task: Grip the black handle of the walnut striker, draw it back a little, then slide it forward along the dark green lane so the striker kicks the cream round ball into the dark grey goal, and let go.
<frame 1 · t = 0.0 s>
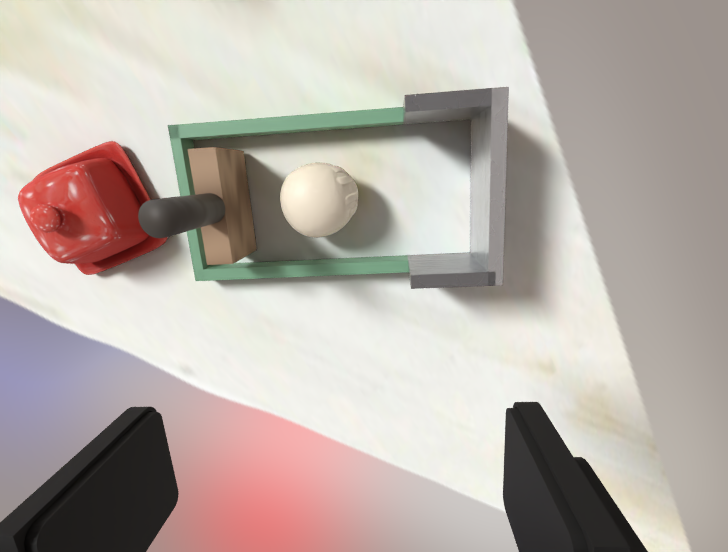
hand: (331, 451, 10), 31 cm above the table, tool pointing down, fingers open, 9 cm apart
striker: (206, 209, 33), point 8 cm above the table, slide at 0.0 cm
goal: (445, 190, 39), on the table
cream round ball: (326, 197, 40), on the table
butter dish: (109, 209, 42), on the table
lane: (297, 199, 40), on the table
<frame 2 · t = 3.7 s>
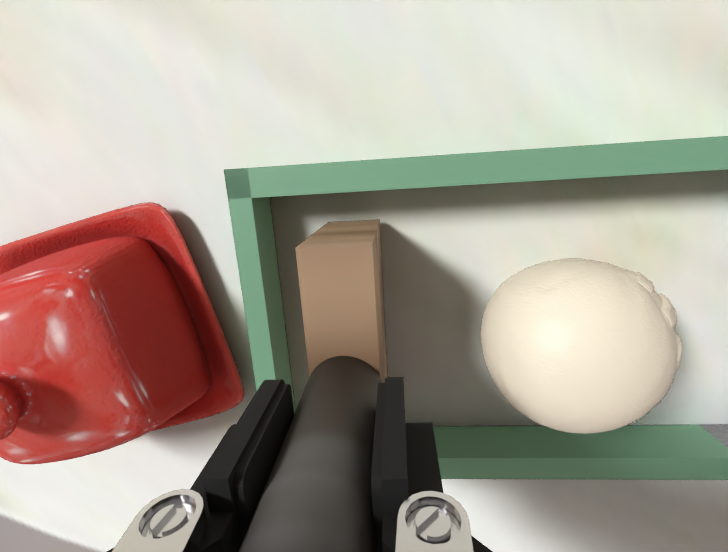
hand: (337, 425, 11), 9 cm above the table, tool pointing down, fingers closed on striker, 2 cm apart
striker: (342, 404, 12), point 8 cm above the table, slide at 0.0 cm, touching gripper
cream round ball: (542, 310, 19), on the table
butter dish: (130, 323, 21), on the table
lane: (481, 314, 19), on the table
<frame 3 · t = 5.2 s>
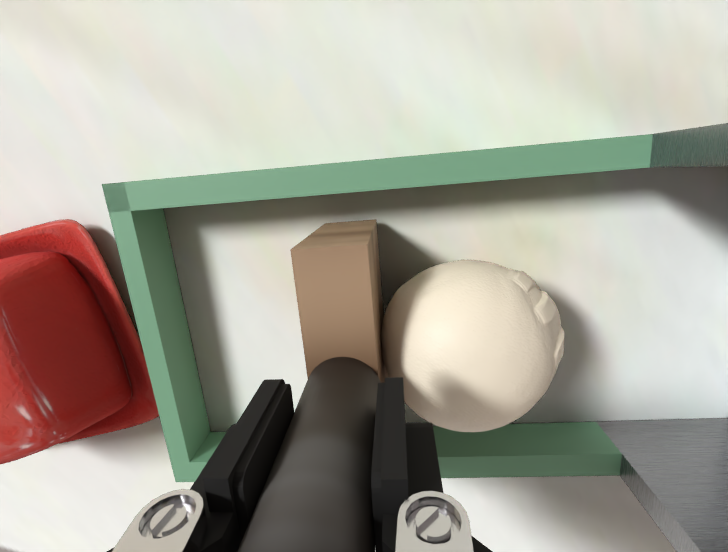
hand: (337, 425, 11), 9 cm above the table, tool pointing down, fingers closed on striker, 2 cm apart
striker: (341, 405, 12), point 8 cm above the table, slide at 5.2 cm, touching cream round ball, gripper
goal: (693, 300, 18), on the table
cream round ball: (455, 310, 20), on the table, touching striker
butter dish: (57, 334, 22), on the table
lane: (376, 317, 20), on the table
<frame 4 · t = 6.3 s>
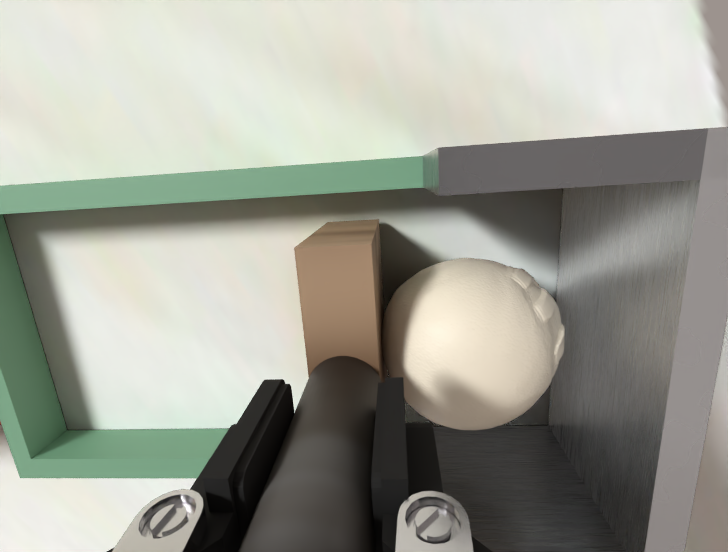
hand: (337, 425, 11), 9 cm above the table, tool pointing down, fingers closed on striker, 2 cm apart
striker: (342, 404, 12), point 8 cm above the table, slide at 13.9 cm, touching cream round ball, gripper
goal: (504, 313, 19), on the table
cream round ball: (456, 309, 20), on the table, touching striker
lane: (212, 323, 20), on the table
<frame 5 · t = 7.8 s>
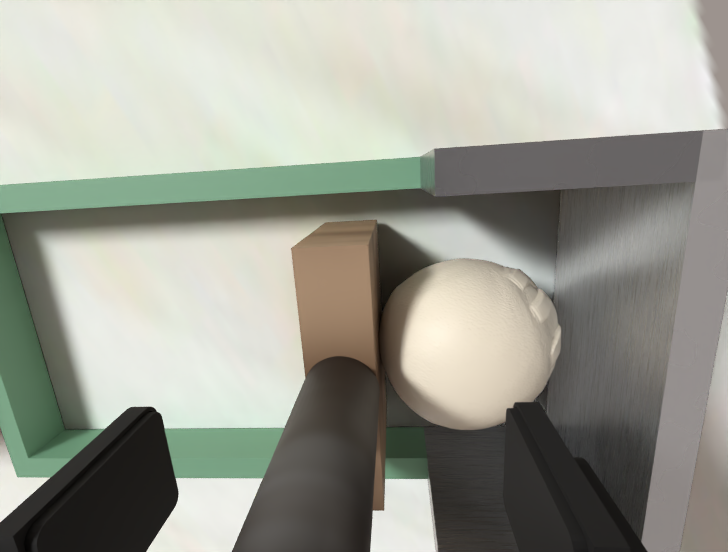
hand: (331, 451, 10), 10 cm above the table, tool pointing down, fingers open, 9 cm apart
striker: (338, 404, 12), point 8 cm above the table, slide at 13.9 cm
goal: (502, 313, 19), on the table
cream round ball: (454, 309, 20), on the table
lane: (210, 323, 20), on the table
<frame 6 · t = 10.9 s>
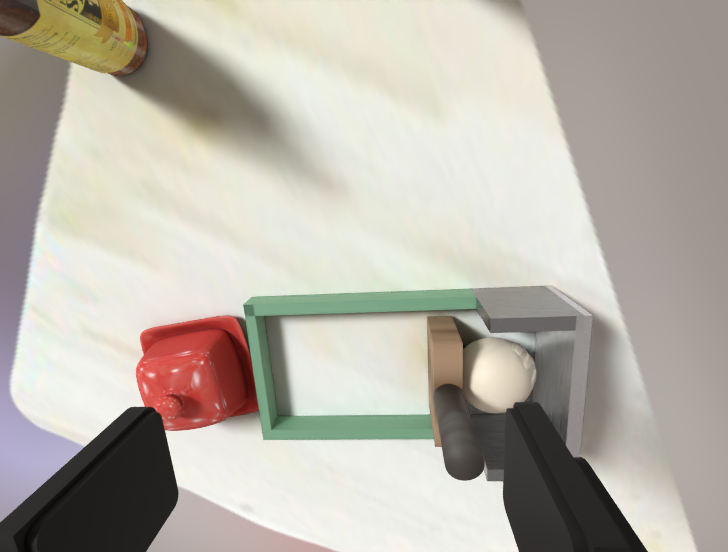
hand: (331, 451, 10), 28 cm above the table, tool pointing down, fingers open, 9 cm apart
striker: (449, 402, 33), point 8 cm above the table, slide at 13.9 cm
goal: (510, 358, 40), on the table
sauce bottle: (118, 39, 35), on the table
cream round ball: (486, 356, 40), on the table
butter dish: (208, 365, 43), on the table
lane: (363, 362, 41), on the table
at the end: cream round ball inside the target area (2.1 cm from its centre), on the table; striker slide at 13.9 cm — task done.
